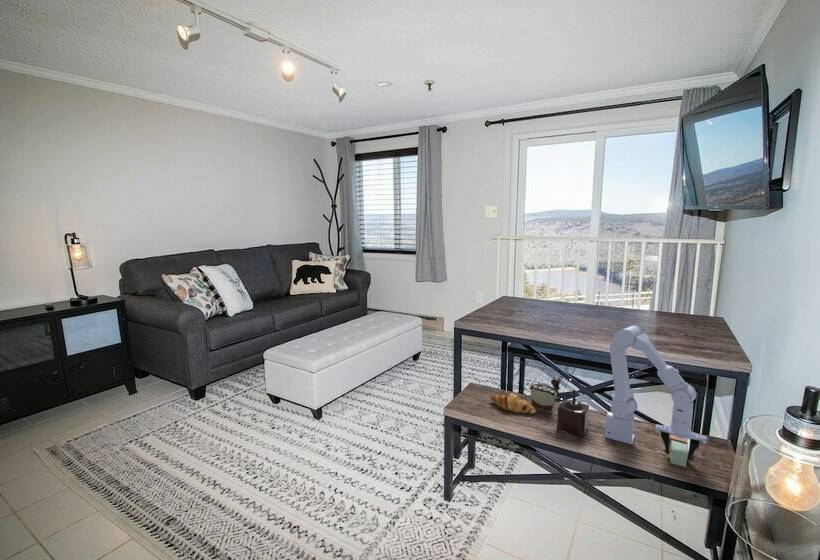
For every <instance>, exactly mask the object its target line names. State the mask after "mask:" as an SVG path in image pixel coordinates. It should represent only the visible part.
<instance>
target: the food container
mask: <svg viewBox="0 0 820 560" xmlns="http://www.w3.org/2000/svg"><path fill="white" fill-rule="evenodd" d="M553 388H554V386H553V385H552V386H551V385H548V384H544V383H533V384H530V386H529V389H528V390H530V402H531V403H530V404H531V405H532V406H533V407H535V409H537V410H541V411H543V410H544V412H546V411H547V412H546V413H549V412H550V413H549V414H553V412H554V405H555V399H556V398H557V395H558V394H557V393H556V390H554V389H553Z"/></svg>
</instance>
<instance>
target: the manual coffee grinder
mask: <svg viewBox="0 0 820 560" xmlns="http://www.w3.org/2000/svg"><path fill="white" fill-rule="evenodd" d="M550 384H551V385H552V387H553V389H554V390H556V393H557V395H560V396H567V397H568V396H569V397H570V396H572V399H571V400H569V399H563V400H562V401H561V402H560V404H559V406H558V407H557V421H556V423H557V424H556V430H557V429H558V430H557V431H559V430H561V431H560V432H562V431H565V432H564V433H566V432H568V433H567V434H569V433H570V435H573V434H574V436H578V437H582V438H583V437H584V436H585V434H587V433H586V432H587V430H588V428H589V427H588V425H589V424H588V423H589V408H590V405H589V404H586V403H583V402H580V401H577V398H576V396H577V393H576V392H577V390H576V389H573V390H572V393H568V392H567V393H565V392H564V393H563V392H559V390H561V387H560V385H561V380H560V379H559V378H552V379H551V381H550Z"/></svg>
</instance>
